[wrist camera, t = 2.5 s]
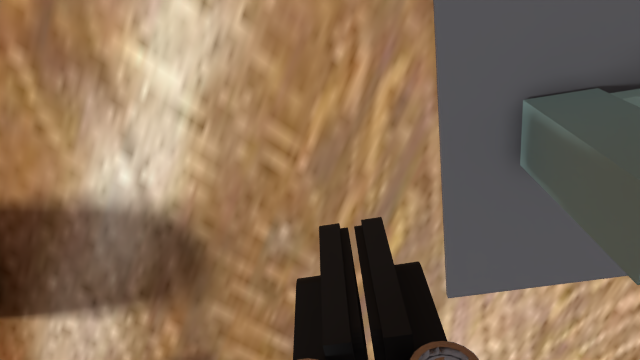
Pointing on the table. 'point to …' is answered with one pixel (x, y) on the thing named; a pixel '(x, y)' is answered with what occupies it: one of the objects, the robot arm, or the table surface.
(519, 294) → the table surface
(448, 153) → the mat
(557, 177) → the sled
